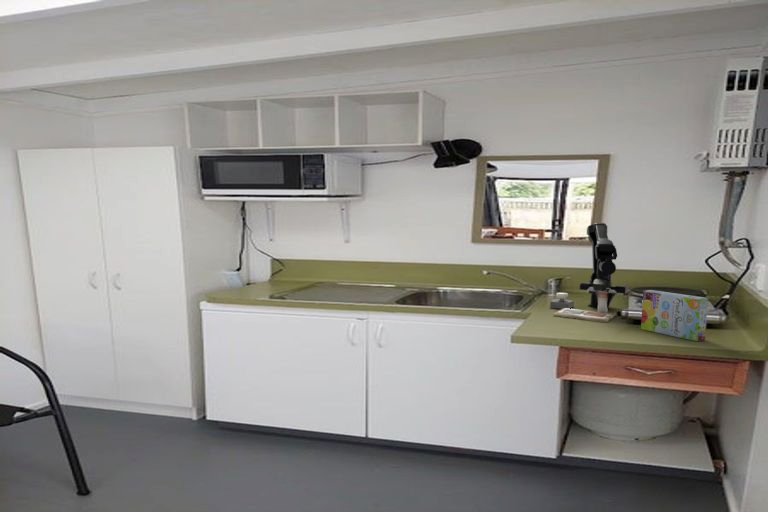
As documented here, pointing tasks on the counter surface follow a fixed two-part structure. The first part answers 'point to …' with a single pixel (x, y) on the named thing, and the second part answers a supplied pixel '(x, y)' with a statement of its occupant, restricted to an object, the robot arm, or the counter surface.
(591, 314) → the picture board
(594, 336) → the counter surface
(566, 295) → the button
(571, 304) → the button base
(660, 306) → the snack box
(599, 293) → the orange topped white container
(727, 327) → the counter surface
